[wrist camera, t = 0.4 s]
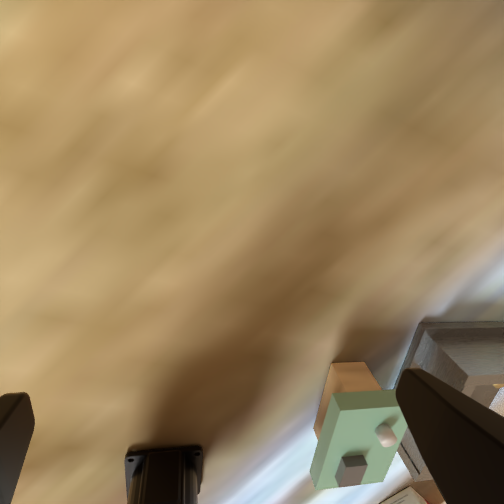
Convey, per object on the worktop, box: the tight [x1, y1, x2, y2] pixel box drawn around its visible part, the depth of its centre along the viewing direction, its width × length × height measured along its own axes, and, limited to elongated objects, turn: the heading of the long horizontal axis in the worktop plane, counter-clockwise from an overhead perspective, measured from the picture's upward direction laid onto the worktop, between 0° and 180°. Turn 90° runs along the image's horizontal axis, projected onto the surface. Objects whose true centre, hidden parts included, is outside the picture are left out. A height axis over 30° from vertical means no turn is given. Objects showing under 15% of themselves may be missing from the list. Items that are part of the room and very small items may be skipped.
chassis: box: [394, 322, 504, 482], centre depth 29 cm, size 14×11×5 cm
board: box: [310, 389, 408, 490], centre depth 25 cm, size 9×6×2 cm, turn 174°
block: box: [313, 362, 382, 440], centre depth 28 cm, size 8×3×4 cm, turn 174°
